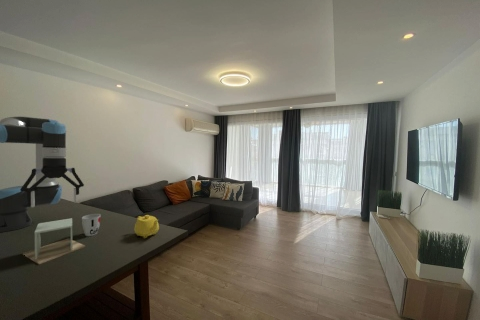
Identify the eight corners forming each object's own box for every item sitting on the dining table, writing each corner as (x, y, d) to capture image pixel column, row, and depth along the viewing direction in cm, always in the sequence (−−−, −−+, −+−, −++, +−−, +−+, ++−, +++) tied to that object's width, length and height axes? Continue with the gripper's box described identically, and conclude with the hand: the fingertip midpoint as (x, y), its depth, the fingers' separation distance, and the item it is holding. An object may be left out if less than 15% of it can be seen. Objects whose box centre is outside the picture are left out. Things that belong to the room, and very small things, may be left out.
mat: (22, 254, 82) (22, 253, 82) (68, 239, 97) (68, 238, 97) (39, 264, 75) (39, 263, 75) (85, 246, 90) (85, 245, 90)
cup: (90, 238, 99) (90, 219, 98) (77, 236, 100) (77, 218, 100) (104, 231, 107) (104, 214, 106) (92, 230, 108) (92, 213, 108)
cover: (38, 248, 86) (38, 223, 86) (72, 240, 94) (72, 218, 94) (34, 259, 78) (34, 232, 77) (72, 250, 85) (72, 225, 85)
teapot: (166, 234, 105) (166, 216, 105) (148, 242, 96) (148, 222, 95) (146, 227, 114) (146, 210, 114) (128, 234, 104) (128, 215, 104)
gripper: (9, 157, 73) (10, 211, 74) (90, 157, 90) (90, 201, 91) (13, 156, 79) (14, 206, 80) (89, 157, 95) (89, 198, 96)
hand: (55, 204), depth 85 cm, fingers open, 13 cm apart
